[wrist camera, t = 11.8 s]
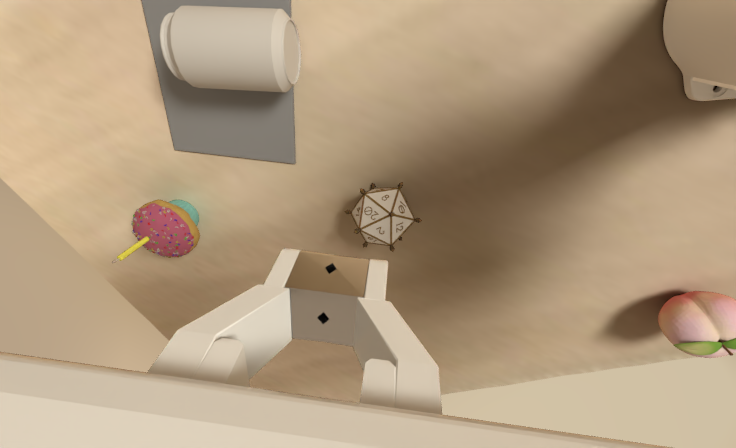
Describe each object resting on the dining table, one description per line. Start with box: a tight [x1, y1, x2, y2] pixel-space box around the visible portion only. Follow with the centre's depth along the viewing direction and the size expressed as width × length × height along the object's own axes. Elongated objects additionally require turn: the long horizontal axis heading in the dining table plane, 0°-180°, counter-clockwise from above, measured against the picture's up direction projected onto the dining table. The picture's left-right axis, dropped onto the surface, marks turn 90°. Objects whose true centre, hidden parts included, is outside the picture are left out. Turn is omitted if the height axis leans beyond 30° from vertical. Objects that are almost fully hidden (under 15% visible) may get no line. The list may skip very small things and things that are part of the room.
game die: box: [345, 182, 422, 252], centre depth 44 cm, size 9×8×10 cm
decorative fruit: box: [658, 291, 736, 358], centre depth 47 cm, size 9×8×10 cm
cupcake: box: [112, 200, 200, 263], centre depth 47 cm, size 9×8×12 cm
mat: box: [142, 0, 296, 164], centre depth 41 cm, size 16×20×1 cm
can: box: [160, 6, 301, 92], centre depth 36 cm, size 8×8×12 cm
